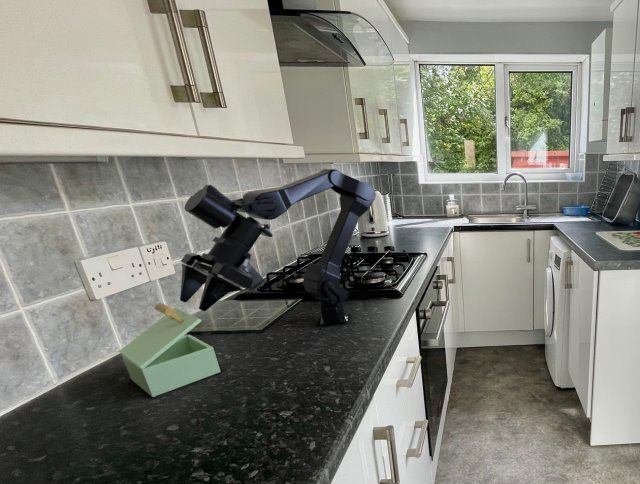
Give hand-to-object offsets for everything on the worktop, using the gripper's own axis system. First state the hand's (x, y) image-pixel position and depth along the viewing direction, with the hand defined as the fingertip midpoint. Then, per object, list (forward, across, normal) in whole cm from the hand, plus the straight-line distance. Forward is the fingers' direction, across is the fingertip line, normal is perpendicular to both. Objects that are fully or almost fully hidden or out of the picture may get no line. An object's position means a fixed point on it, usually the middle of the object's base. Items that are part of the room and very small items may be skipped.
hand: (191, 305), depth 82 cm
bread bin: (+14, 0, -5) cm, 15 cm away
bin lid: (+8, 0, +1) cm, 8 cm away
